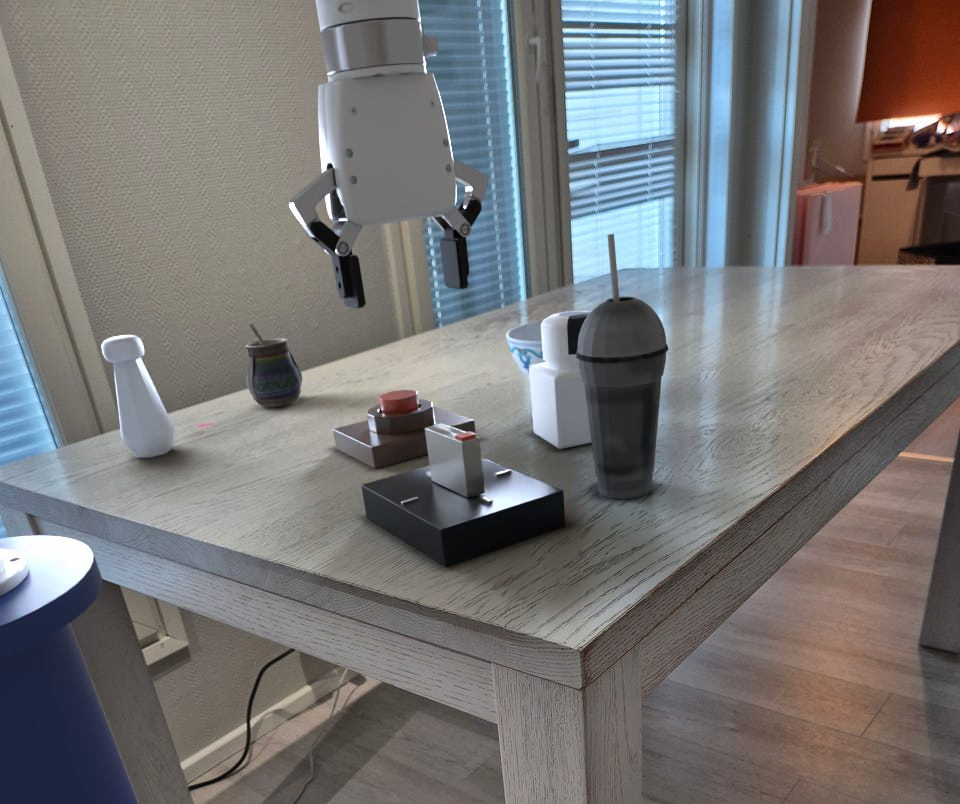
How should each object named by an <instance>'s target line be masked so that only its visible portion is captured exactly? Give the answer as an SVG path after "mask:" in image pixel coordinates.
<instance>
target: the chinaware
mask: <svg viewBox="0 0 960 804" xmlns="http://www.w3.org/2000/svg"><path fill="white" fill-rule="evenodd" d="M543 320H544V319H543ZM543 320H537V321H532V322H528V323H524V324H521V325H518V326H516V327H513V328H511V329H509V330H508V331H507V332H506V334H505V337H506V338H505V339H506V341H507V345H508V349H509V351H510V354H511V356H512V358H513V360H514V363H515V365H516V366H517V368H518V370H519V371H520V372H521V374H523V375H524V376H525V378H526V379H528V380H529V381H530V376H529V367H530V366H531V365H534V364H539V363H545V362H546V361H544V360H543V352H542V336H541V323H542V322H543Z"/></svg>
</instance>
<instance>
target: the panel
mask: <svg viewBox="0 0 960 804" xmlns="http://www.w3.org/2000/svg"><path fill="white" fill-rule="evenodd" d="M481 460H482V470H483V479H484V489H485V493H483V494H479V495H476V496H473V497H470V498H467V497H465V496H463V495H461V494H459V493H457V492H455V491H452V490H450V489H448V488H446V487H444V486H442V485H440V484H438V483H436V482H434V481H432V479H431V472H430V464H429V465H426V466H423V467H419V468H415V469H411V470H408V471H405V472H401V473H397V474H395V475H391V476H387V477H383V478H380V479H376V480H373V481H370V482H366V483H363V484H361V485H360V488H361V493H362V498H363V499H362V500H363V505H364V510H365V515H366V516H365V517H366V519H368V520H369V521H371V522H372V523H374V524H376V525H378V526H379V527H381V528H382V529H384V530H385V531H388V532H389V533H391V534H392V535H394V536H395V537H397V538H399V539H400V540H402V541H403V542H405V543H407V544H408V545H409V546H411V547H413V548H414V549H417V550H418V551H419V552H421V553H423V554H424V555H426V556H428V557H429V558H431V559H432V560H434V561H435V562H436V563H438V564H439V565H442V566H443V567H445V568H447V567H450V566H453V565H456V564H458V563H462V562H465V561H467V560H470V559H473V558H476V557H480V556H482V555H486V554H488V553H492V552H494V551H497V550H499V549H502V548H506V547H509V546H511V545H515V544H517V543H520V542H522V541H526V540H529V539H532V538H535V537H537V536H541V535H544V534H547V533H549V532H552V531H555V530H558V529H561V528H564V527H566V514H565V513H566V511H565V494H564V490H563V489H561V488H558V487H556V486H553V485H551V484H550V483H549V484H548V483H546V482H544V481H541V480H538V479H536V478H533V477H531V476H528V475H526V474H524V473H521V472H518V471H516V470H513V469H511V468H509V467H506V466H503V465H501V464H499V463H496V462H494V461H492V460H491V461H490V460H489V459H487V458H483V457H481Z"/></svg>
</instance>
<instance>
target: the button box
mask: <svg viewBox="0 0 960 804" xmlns="http://www.w3.org/2000/svg"><path fill="white" fill-rule="evenodd" d="M418 403H419V408H418V409H416V410H414V411H410V412H406V413H398V414H382V413H381V406H380V403H379V404H376V405H375V406H372V407H371V408H370V407H369V409H367V412H366V418H367V420H363V421H359V422H355V423H351V424H348V425H344V426H340V427H335V428H332V433H333V434H332V435H333V438H334V439H333V440H334V444H335V448H336V449H337V450H338V451H340V452H342V453H343V454H346V455H348V456H350V457H352V458H354V459H355V460H358V461H359V462H361V463H363V464H365V465H367V466H369V467H371V468H373V469H379V468H383V467H386V466H390V465H394V464H397V463H401V462H405V461H407V460H411V459H415V458H418V457H422V456H427V455H428V449H427V442H426V434H425V427H429V426H433V425H437V424H441V423H442V424H444V425H447V426H450V427H452V428H455V429H458V430H461V431H463V432H472V433H475V434H476V435H477V431H476V422H475V420H474V419H472V418H469V417H466V416H463V415H461V414H457V413H454V412H451V411H448V410H445V409H443V408H439V407H437V406H434V403H433V401H430V400H427V399H423V398H418Z"/></svg>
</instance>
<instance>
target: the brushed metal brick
mask: <svg viewBox="0 0 960 804" xmlns="http://www.w3.org/2000/svg"><path fill="white" fill-rule="evenodd" d="M425 434H426V442H427V449H428V454H427V455H428V463H429V465H430V472H431V479H432V481H434V482H436V483H438V484H440V485H442V486H444V487H446V488H448V489H450V490H452V491H455V492H457V493H459V494H461V495H463V496H465V497H467V498H470V497H473V496H476V495H479V494H483V493H485V489H484V479H483V470H482V460H481V458H482V452H481V442H480V437H479V436H477V433H476V434H475V433H472V432H463V431H461V430H458V429H455V428H452V427H450V426H447V425H444V424H442V423H441V424H437V425H433V426H429V427H425Z"/></svg>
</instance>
